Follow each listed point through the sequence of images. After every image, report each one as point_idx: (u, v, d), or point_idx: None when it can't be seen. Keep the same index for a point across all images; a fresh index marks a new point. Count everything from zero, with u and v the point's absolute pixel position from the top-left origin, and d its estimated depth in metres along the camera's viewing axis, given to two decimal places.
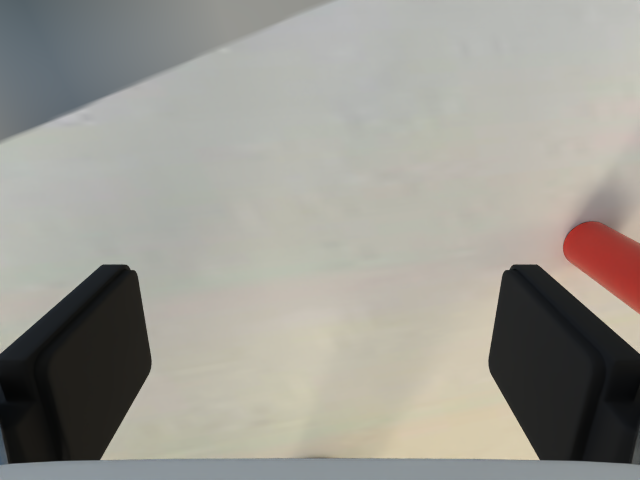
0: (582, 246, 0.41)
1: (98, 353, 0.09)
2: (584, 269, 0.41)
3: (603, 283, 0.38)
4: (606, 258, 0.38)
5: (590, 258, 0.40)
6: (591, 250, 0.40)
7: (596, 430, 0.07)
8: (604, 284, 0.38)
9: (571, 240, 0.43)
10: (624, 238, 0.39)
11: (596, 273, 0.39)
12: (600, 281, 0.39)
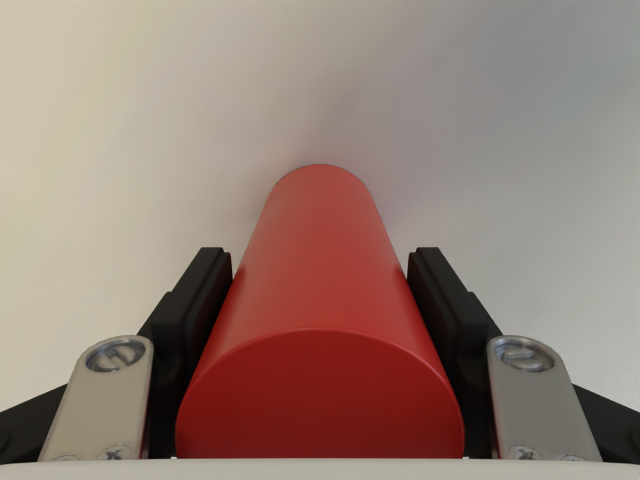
0: None
1: (214, 323, 0.10)
2: (346, 190, 0.14)
3: (352, 218, 0.12)
4: None
5: (383, 227, 0.14)
6: None
7: (453, 386, 0.08)
8: (351, 219, 0.12)
9: None
10: None
11: (369, 219, 0.12)
12: (351, 212, 0.12)
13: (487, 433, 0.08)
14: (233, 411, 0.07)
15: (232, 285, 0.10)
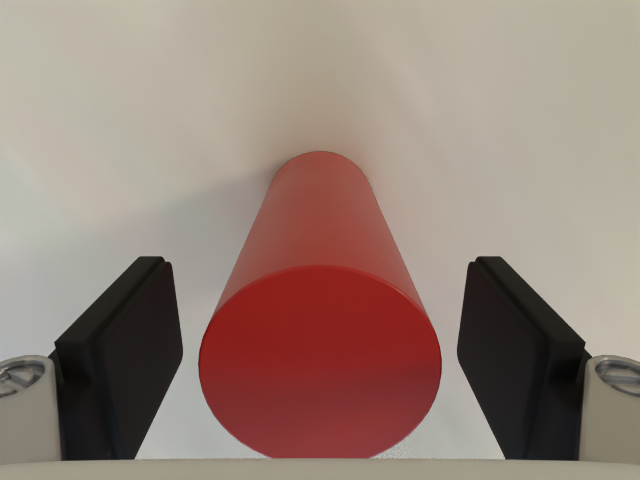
0: None
1: (142, 339, 0.09)
2: (344, 172, 0.16)
3: (349, 193, 0.13)
4: None
5: (378, 205, 0.15)
6: None
7: (541, 408, 0.08)
8: (348, 193, 0.13)
9: None
10: None
11: (365, 196, 0.14)
12: (348, 189, 0.13)
13: None
14: (247, 339, 0.08)
15: (243, 248, 0.11)
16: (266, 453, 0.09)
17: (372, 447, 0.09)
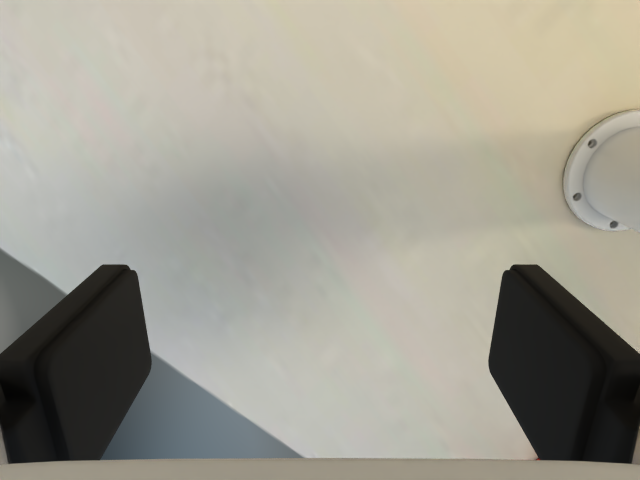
0: None
1: (98, 353, 0.09)
2: None
3: None
4: None
5: None
6: None
7: (596, 429, 0.07)
8: None
9: None
10: None
11: None
12: None
13: None
14: None
15: None
16: None
17: None
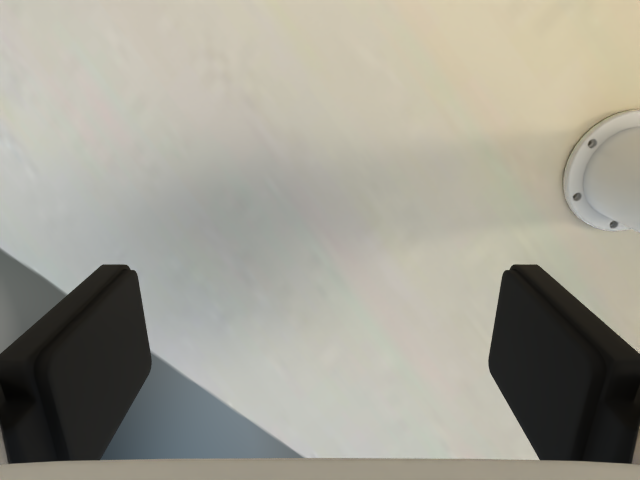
0: None
1: (98, 353, 0.09)
2: None
3: None
4: None
5: None
6: None
7: (596, 429, 0.07)
8: None
9: None
10: None
11: None
12: None
13: None
14: None
15: None
16: None
17: None
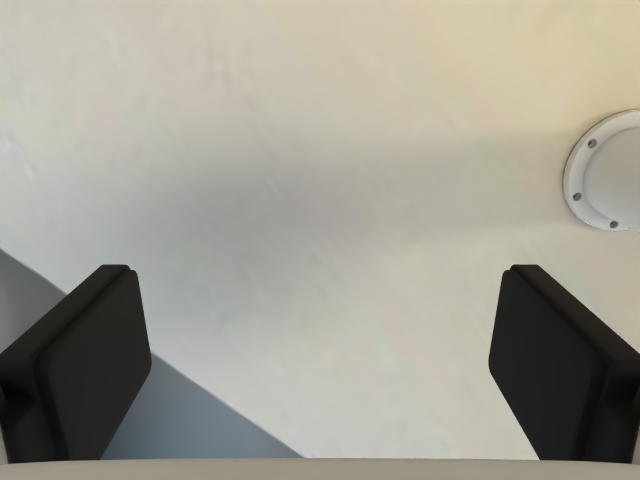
0: None
1: (98, 353, 0.09)
2: None
3: None
4: None
5: None
6: None
7: (596, 429, 0.07)
8: None
9: None
10: None
11: None
12: None
13: None
14: None
15: None
16: None
17: None
